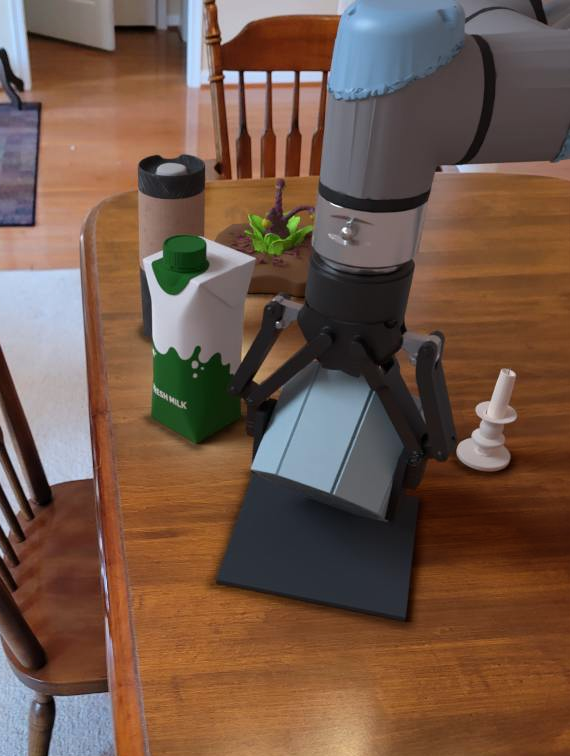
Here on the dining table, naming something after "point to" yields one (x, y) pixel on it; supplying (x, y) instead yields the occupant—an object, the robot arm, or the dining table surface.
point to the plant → (274, 248)
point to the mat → (320, 552)
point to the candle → (491, 429)
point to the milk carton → (196, 332)
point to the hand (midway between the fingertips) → (325, 488)
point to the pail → (332, 442)
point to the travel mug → (167, 210)
